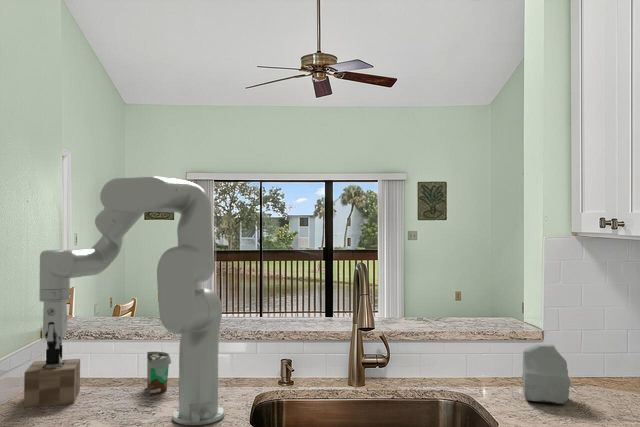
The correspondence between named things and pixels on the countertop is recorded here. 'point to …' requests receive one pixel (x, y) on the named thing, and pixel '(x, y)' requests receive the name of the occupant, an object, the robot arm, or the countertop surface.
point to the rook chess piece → (59, 360)
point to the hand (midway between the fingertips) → (54, 361)
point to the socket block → (51, 383)
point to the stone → (545, 375)
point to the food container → (157, 372)
